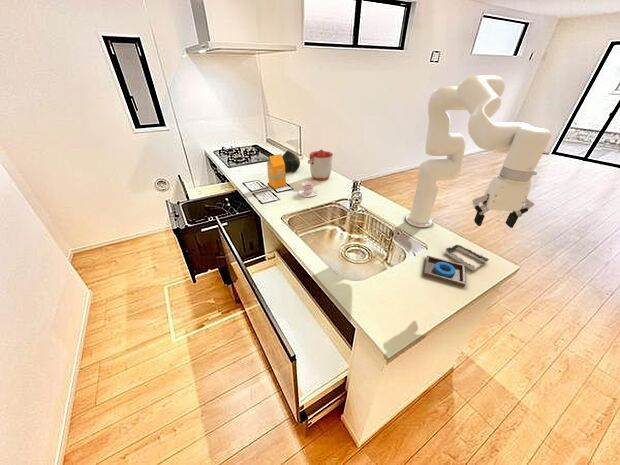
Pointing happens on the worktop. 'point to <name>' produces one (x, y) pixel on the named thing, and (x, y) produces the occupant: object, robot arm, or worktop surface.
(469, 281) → the worktop surface
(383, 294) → the worktop surface
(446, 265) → the ring
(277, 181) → the orange juice
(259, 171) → the worktop surface
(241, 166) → the worktop surface
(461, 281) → the tray
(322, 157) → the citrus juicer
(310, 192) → the teacup
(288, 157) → the squash
